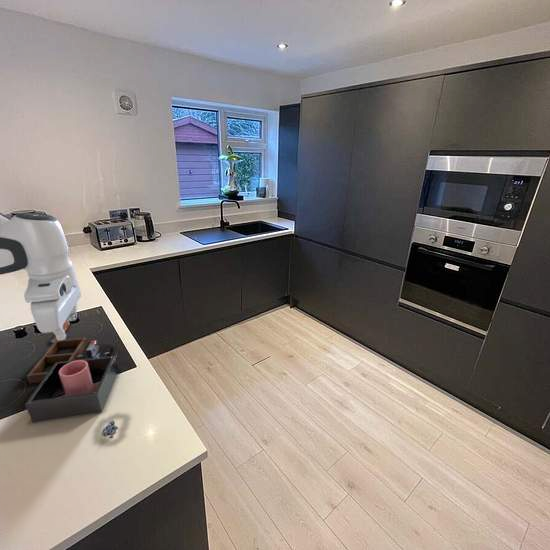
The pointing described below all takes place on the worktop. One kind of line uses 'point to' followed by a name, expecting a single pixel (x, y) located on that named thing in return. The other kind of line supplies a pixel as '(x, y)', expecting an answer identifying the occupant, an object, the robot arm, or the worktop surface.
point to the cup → (76, 378)
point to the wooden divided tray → (56, 357)
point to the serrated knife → (63, 329)
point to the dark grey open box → (69, 406)
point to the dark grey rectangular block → (92, 349)
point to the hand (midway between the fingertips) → (68, 328)
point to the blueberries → (110, 429)
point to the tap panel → (102, 352)
